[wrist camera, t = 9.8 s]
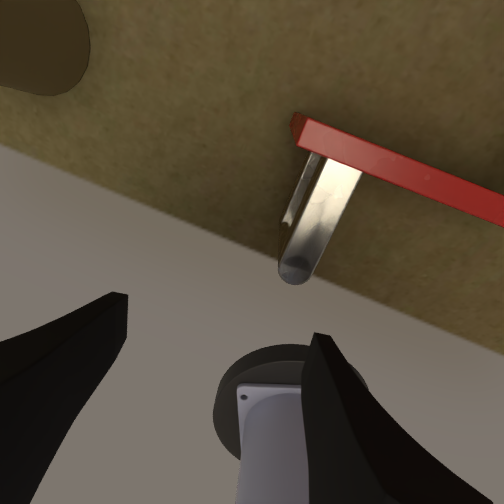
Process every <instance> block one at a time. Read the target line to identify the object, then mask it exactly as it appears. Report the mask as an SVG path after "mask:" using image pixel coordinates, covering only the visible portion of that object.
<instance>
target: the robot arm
mask: <svg viewBox="0 0 504 504" xmlns="http://www.w3.org/2000/svg"><path fill="white" fill-rule="evenodd" d="M127 314H128V295H127V294H122V293H117V292H110V293H108V294H106V295H104V296H102V297H100V298H98V299H96V300H94V301H93V302H91V303H89V304H87V305H85V306H83V307H81V308H79V309H77V310H75V311H73V312H71V313H69V314H67V315H65V316H63V317H61V318H58V319H56V320H54V321H52V322H49V323H47V324H45V325H43V326H41V327H38V328H36V329H34V330H31V331H29V332H26V333H23V334H21V335H18V336H15V337H13V338H10V339H7V340H4V341H1V342H0V504H30V502H31V500H32V498H33V496H34V494H35V492H36V490H37V488H38V486H39V484H40V482H41V480H42V478H43V476H44V475H45V473H46V471H47V469H48V467H49V465H50V463H51V461H52V460H53V458H54V456H55V454H56V452H57V450H58V448H59V447H60V445H61V443H62V441H63V439H64V438H65V436H66V434H67V432H68V430H69V429H70V427H71V425H72V423H73V422H74V420H75V419H76V417H77V415H78V414H79V412H80V411H81V409H82V408H83V406H84V405H85V404H86V402H87V401H88V399H89V398H90V396H91V395H92V393H93V392H94V391H95V389H96V388H97V386H98V385H99V383H100V382H101V380H102V379H103V377H104V376H105V375H106V373H107V372H108V370H109V369H110V367H111V366H112V364H113V363H114V361H115V360H116V358H117V356H118V354H119V352H120V350H121V348H122V346H123V344H124V342H125V340H126V338H127ZM243 395H246V396H243ZM237 403H238V416H239V430H240V443H241V459H240V468H239V476H238V485H237V493H236V502H235V504H493V502H492V501H491V500H490V499H488V498H487V497H485V496H484V495H483V494H481V493H480V492H479V491H477V490H476V489H474V488H473V487H472V486H470V485H469V484H468V483H466V482H465V481H464V480H462V479H461V478H459V477H458V476H457V475H456V474H454V473H453V472H451V471H450V470H449V469H448V468H447V467H445V466H444V465H443V464H442V463H441V462H439V461H438V460H437V459H436V458H435V457H433V456H432V455H431V454H430V453H429V452H428V451H426V450H425V449H424V448H423V447H422V446H421V445H420V444H419V443H418V442H416V441H415V440H414V439H413V438H412V437H411V436H410V435H409V434H408V433H407V432H406V431H405V430H404V429H403V428H402V427H401V426H400V425H399V424H398V423H397V422H396V421H395V420H394V419H393V418H392V417H391V416H390V415H389V414H388V413H387V411H386V410H385V409H384V408H383V407H382V406H381V405H380V404H379V403H378V401H376V399H375V398H374V397H373V396H372V394H371V393H370V392H369V390H368V389H367V388H366V387H365V385H364V384H363V383H362V381H361V380H360V379H359V377H358V376H357V375H356V373H355V372H354V370H353V369H352V368H351V366H350V365H349V363H348V362H347V360H346V359H345V357H344V356H343V354H342V353H341V352H340V350H339V348H338V347H337V345H336V344H335V342H334V341H333V339H332V338H331V336H330V335H325V334H320V333H314V335H313V338H312V341H311V344H310V347H309V350H308V353H307V357H306V360H305V363H304V366H303V369H302V372H301V385H287V384H257V383H241V384H239V385H238V386H237Z"/></svg>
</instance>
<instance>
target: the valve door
mask: <svg viewBox="0 0 504 504" xmlns="http://www.w3.org/2000/svg"><path fill="white" fill-rule="evenodd" d="M289 127H290V129H291V132H292V135H293V138H294V140H295V143H296V145H297V146H298V147H300V148H303V149H305V150H308V153H307V155H306V158H305V160H304V162H303V165H302V167H301V170H300V172H299V174H298V177H297V179H296V181H295V184H294V186H293V189H292V191H291V193H290V196H289V198H288V201H287V203H286V205H285V208H284V210H283V212H282V215H281V217H280V220H279V250H278V272H279V275H280V277H281V278H282V279H283V280H284V281H285V282H286V283H288V284H292V285H299V284H303V283H305V282H307V281H308V280H309V279H310V278H311V276H312V274H313V272H314V270H315V268H316V266H317V264H318V262H319V260H320V258H321V256H322V254H323V252H324V250H325V248H326V246H327V244H328V242H329V240H330V238H331V236H332V234H333V232H334V230H335V228H336V226H337V224H338V222H339V220H340V218H341V216H342V214H343V212H344V210H345V208H346V206H347V204H348V202H349V200H350V198H351V196H352V194H353V192H354V190H355V188H356V186H357V184H358V182H359V180H360V178H361V176H362V174H363V172H364V173H366V174H369V175H372V176H374V177H377V178H379V179H382V180H384V181H387V182H389V183H392V184H394V185H397V186H400V187H402V188H405V189H407V190H410V191H412V192H415V193H417V194H420V195H422V196H425V197H427V198H430V199H433V200H435V201H438V202H440V203H443V204H445V205H448V206H450V207H453V208H455V209H458V210H461V211H463V212H466V213H468V214H471V215H473V216H476V217H478V218H481V219H483V220H486V221H488V222H491V223H494V224H496V225H499V226H501V227H504V195H502V194H499V193H497V192H494V191H492V190H489V189H487V188H484V187H482V186H479V185H477V184H474V183H472V182H469V181H467V180H464V179H462V178H459V177H457V176H454V175H452V174H449V173H447V172H444V171H442V170H439V169H437V168H434V167H432V166H429V165H427V164H424V163H422V162H419V161H417V160H414V159H412V158H409V157H407V156H404V155H402V154H399V153H397V152H394V151H392V150H389V149H387V148H384V147H382V146H379V145H377V144H374V143H372V142H369V141H367V140H364V139H362V138H359V137H357V136H354V135H352V134H349V133H347V132H344V131H342V130H339V129H337V128H334V127H332V126H329V125H327V124H324V123H322V122H319V121H317V120H314V119H312V118H309V117H307V116H304V115H302V114H299V113H297V112H294V114H293V117H292V119H291V122H290V124H289Z"/></svg>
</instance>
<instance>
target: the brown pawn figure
mask: <svg viewBox="0 0 504 504" xmlns="http://www.w3.org/2000/svg"><path fill="white" fill-rule="evenodd" d="M89 52H90V43H89V33H88V26H87V24H86V21H85V18H84V16H83V13H82V10H81V8H80V6H79V4H78V3H77V1H76V0H0V85H1V86H5V87H9V88H13V89H17V90H21V91H25V92H29V93H33V94H37V95H49V96H54V95H57V94H61V93H64V92H67V91H69V90H70V89H71V88H72V87H73V86H74V85H76V84H77V83H78V82H79V81H80V79H81V77H82V75H83V73H84V71H85V69H86V68H87V64H88V58H89Z"/></svg>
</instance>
